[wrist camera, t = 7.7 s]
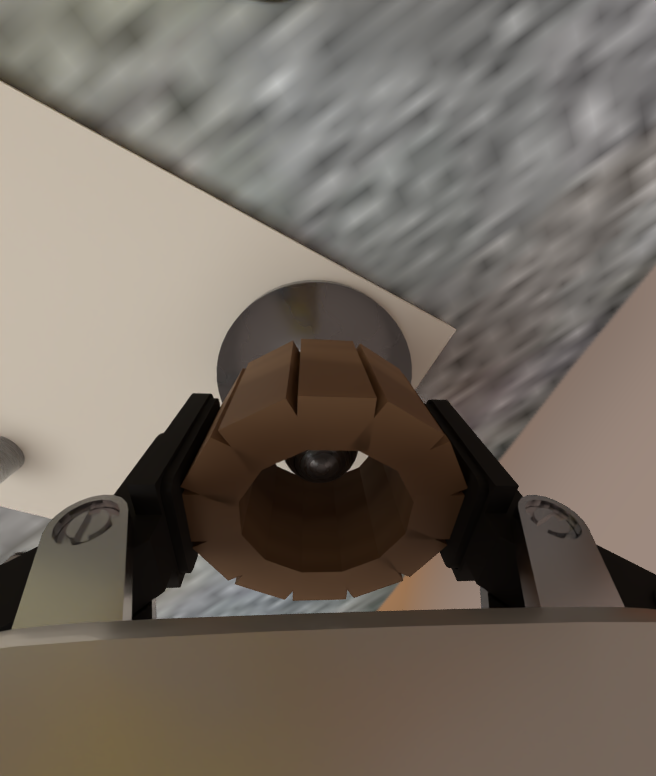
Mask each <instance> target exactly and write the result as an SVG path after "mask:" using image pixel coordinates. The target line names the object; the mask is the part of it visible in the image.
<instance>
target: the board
mask: <svg viewBox="0 0 656 776" xmlns="http://www.w3.org/2000/svg"><path fill="white" fill-rule="evenodd" d="M304 280H325V281H332V282H337V283H341V284H344V285H348V286H350V287H352V288H355V289H357V290H359V291H361V292H363V293H364V294H366V295H367V296H369V297H371V298H372V299H373V300H374V301H376V302H377V303H378V304H379V305H380V306H381V307H383V308H384V309H385V310H386V311H387V312H388V314H389V315H390V316H391V317H392V318H393V319H394V320H395V322H396V323H397V325H398V326H399V328H400V329H401V331H402V333H403V335H404V337H405V339H406V342H407V345H408V348H409V351H410V356H411V363H412V380H411V385H412V387H413V388H414V390H415V389H416V388H417V386H418V385H419V384H420V382H421V381H422V379H423V378H424V376H425V375H426V373H427V372H428V370H429V369H430V367H431V366H432V365H433V363H434V362H435V360H436V359H437V357H438V356H439V354H440V353H441V351H442V350H443V349H444V347H445V346H446V344H447V343H448V341H449V340H450V338H451V337H452V335H453V334H454V332H455V331H456V329H455V328H453V327H452V326H450V325H448V324H447V323H445V322H443V321H442V320H440V319H438V318H436V317H434V316H432V315H431V314H429V313H427V312H425V311H423V310H421V309H420V308H418V307H416V306H414V305H412V304H410V303H409V302H407V301H405V300H403V299H401V298H399V297H398V296H396V295H394V294H392V293H390V292H388V291H387V290H385V289H383V288H381V287H379V286H377V285H376V284H374V283H372V282H370V281H368V280H366V279H365V278H363V277H361V276H359V275H357V274H355V273H354V272H352V271H350V270H348V269H346V268H344V267H343V266H341V265H339V264H337V263H335V262H333V261H332V260H330V259H328V258H326V257H324V256H322V255H321V254H319V253H317V252H315V251H313V250H311V249H309V248H308V247H306V246H304V245H302V244H300V243H298V242H297V241H295V240H293V239H291V238H289V237H287V236H286V235H284V234H282V233H280V232H278V231H276V230H275V229H273V228H271V227H269V226H267V225H265V224H264V223H262V222H260V221H258V220H256V219H254V218H253V217H251V216H249V215H247V214H245V213H243V212H242V211H240V210H238V209H236V208H234V207H232V206H231V205H229V204H227V203H225V202H223V201H221V200H220V199H218V198H216V197H214V196H212V195H210V194H209V193H207V192H205V191H203V190H201V189H199V188H198V187H196V186H194V185H192V184H190V183H188V182H187V181H185V180H183V179H181V178H179V177H177V176H176V175H174V174H172V173H170V172H168V171H166V170H165V169H163V168H161V167H159V166H157V165H155V164H154V163H152V162H150V161H148V160H146V159H144V158H143V157H141V156H139V155H137V154H135V153H133V152H132V151H130V150H128V149H126V148H124V147H122V146H121V145H119V144H117V143H115V142H113V141H111V140H110V139H108V138H106V137H104V136H102V135H100V134H99V133H97V132H95V131H93V130H91V129H89V128H87V127H86V126H84V125H82V124H80V123H78V122H76V121H75V120H73V119H71V118H69V117H67V116H65V115H64V114H62V113H60V112H58V111H56V110H54V109H53V108H51V107H49V106H47V105H45V104H43V103H42V102H40V101H38V100H36V99H34V98H32V97H31V96H29V95H27V94H25V93H23V92H21V91H20V90H18V89H16V88H14V87H12V86H10V85H9V84H7V83H5V82H3V81H1V80H0V436H3V437H5V438H7V439H9V440H11V441H13V442H14V443H15V444H17V445H18V446H19V447H20V449H21V450H22V451H23V453H24V456H25V462H24V464H23V466H22V467H21V468H19V469H18V470H17V471H16V472H14V473H13V474H12V475H11V476H9V477H8V478H7V479H6V480H5V481H3V482H2V483H1V484H0V506H2V507H6V508H10V509H14V510H18V511H22V512H26V513H30V514H34V515H38V516H42V517H46V518H51V519H53V518H54V517H55V516H56V515H57V514H58V513H60V512H61V511H63V510H64V509H65V508H67V507H68V506H70V505H72V504H74V503H76V502H78V501H81V500H83V499H86V498H89V497H93V496H98V495H114V494H115V492H116V491H117V490H118V488H119V487H120V485H121V484H122V483H123V481H124V480H125V479H126V477H127V476H128V475H129V473H130V472H131V471H132V469H133V468H134V467H135V465H136V464H137V463H138V461H139V460H140V458H141V457H142V456H143V454H144V453H145V452H146V450H147V449H148V448H149V446H150V445H151V444H152V442H153V441H154V440H155V438H156V437H157V436H158V435H159V434H161V433H164V432H165V431H166V429H167V428H168V426H169V425H170V424H171V422H172V421H173V419H174V418H175V417H176V415H177V414H178V412H179V411H180V410H181V408H182V407H183V405H184V404H185V403H186V401H187V400H188V398H189V397H190V396H191V394H192V393H207V394H212V395H213V397H214V398H218V399H219V402H220V407H221V405H222V401H221V398H220V394H219V391H218V385H217V361H218V355H219V352H220V348H221V345H222V342H223V340H224V338H225V336H226V334H227V332H228V330H229V329H230V327H231V326H232V324H233V323H234V321H235V320H236V319H237V318H238V316H239V315H240V314H241V313H242V312H243V311H244V310H245V309H246V307H247V306H248V305H250V304H251V303H252V302H253V301H254V300H256V299H257V298H258V297H260V296H261V295H263V294H265V293H266V292H268V291H270V290H272V289H274V288H277V287H279V286H281V285H285V284H288V283H292V282H297V281H304ZM367 457H368V455H366V454H364V453H362V452H360V451H358V454H357V457H356V460H355V462H354V463H353V465H352V467H351V468H350V469H349V470H348V471H347V472H349V471H351V470H353V469H356V468H358V467H360V465H361V464H362V463H363V462H364V461H365V460H366V459H367ZM276 465H277V466H278V467H280V468H282V469H284V470H287V471H289V472H291V473H293V472H292V471H291V470H290V468H289V467H288V466H287V464H286V463H285V460H283V461H281V462H279V463H276ZM293 474H294V473H293ZM198 555H200V554H198Z"/></svg>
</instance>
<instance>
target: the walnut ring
mask: <svg viewBox="0 0 656 776" xmlns="http://www.w3.org/2000/svg"><path fill="white" fill-rule="evenodd" d="M306 450H333V451H360V452H362V453H364V454H366V455H368V457H367V459H366V460H365V461H364V462H363V463H362V464H361V465H360V467H358V468H356V469H353V470H351V471H349V472H346V473H345V474H344V475H343V476H341V477H340V478H338V479H336V480H333V481H331V482H326V483H313V482H309V481H306V480H303V479H302V478H300V477H298V476H297V475H295V474H293V473H291V472H289V471H287V470H284V469H282V468H280V467H278V466H277V465H276V463H279V462H281V461H283V460H286V459H288V458H290V457H292V456H295V455H297V454H299V453H302V452H304V451H306ZM180 487H181V488H184V489H185V490H184V492H183V494H182V497H183V502H184V507H185V512H186V517H187V522H188V527H189V532H190V537H191V542H194V545H193V549H194V550H195V551H196V552H197V553H198V554H200V555H201V556H202V557H203V558H204V559H205V560H206V561H207V562H208V563H209V564H211V565H212V566H213V567H214V568H215V569H216V570H217V571H218V572H219V573H221V574H222V575H223V576H224V577H225V578H226V579H227V580H231V579H233V578H236V582H235V584H236V585H239V586H243V587H246V588H249V589H252V590H255V591H259V592H262V593H265V594H268V595H272V596H275V597H278V598H281V599H284V600H285V599H286V598H287V597H288V596H289V595H290V593H291V592H292V591H293V601H298V600H337V599H346V595H347V590H348V591H349V592H350V594H351V595H352V596H353V597H354V598H355V597H358V596H360V595H363V594H366V593H369V592H372V591H375V590H378V589H381V588H383V587H386V586H389V585H392V584H395V583H398V582H401V581H403V578H402V575H401V574H404V575H407V576H409V577H410V576H412V575H413V574H414V573H415V572H416V571H417V570H419V569H420V568H421V567H422V566H423V565H425V564H426V563H427V562H428V561H429V560H430V559H432V557H434V556H435V555H436V554H437V553H439V552H440V551H441V550H442V549H443V548H445V547H446V546H447V543H446V541H445V539H450V536H451V533H452V530H453V528H454V525H455V522H456V519H457V516H458V513H459V511H460V508H461V505H462V502H463V499H464V497H465V495H464V493H463V492H462V490H465V489H467V485H466V482H465V480H464V477H463V474H462V472H461V469H460V466H459V464H458V461H457V459H456V456H455V453H454V451H453V448H452V445H451V443H450V441H449V439H448V438H447V436H446V435H445V434H444V432H443V431H442V429H441V428H440V426H439V425H438V423H437V422H436V420H435V419H434V418H433V416H432V415H431V413H430V412H429V410H428V409H427V407H426V406H425V404H424V403H423V402H422V400H421V399H420V397H419V396H418V394H417V393H416V391H415V390H414V388H413V387H412V385H411V384H410V383H409V381H408V380H407V378H406V377H405V375H404V374H402V372H401V371H400V369H399V368H397V367H396V366H394V365H393V364H391V363H390V362H388V361H387V360H385V359H384V358H382V357H380V356H379V355H377V354H376V353H374V352H373V351H371V350H370V349H368V348H367V347H365V346H363V345H362V344H359V345H358V347H357V348H355V345H354V343H353V341H342V340H320V339H301V349H300V351H299V350H298V348H297V346H296V344H295V343H294V341H291V342H289V343H287V344H285V345H283V346H281V347H279V348H277V349H275V350H273V351H271V352H269V353H267V354H265V355H263V356H261V357H259V358H257V359H255V360H253V361H251V362H249V363H248V365H247V367H246V369H245V368H243V369H242V371H241V372H240V374H239V376H238V377H237V379H236V381H235V383H234V384H233V386H232V388H231V389H230V391H229V393H228V394H227V396H226V398H225V400H224V401H223V403H222V405H221V407H220V409H219V411H218V413H217V415H216V417H215V419H214V421H213V422H212V424H211V426H210V428H209V430H208V432H207V434H206V436H205V438H204V440H203V442H202V444H201V446H200V448H199V450H198V452H197V454H196V456H195V458H194V460H193V462H192V464H191V466H190V468H189V470H188V472H187V474H186V476H185V478H184V480H183V482H182V484H181V486H180Z"/></svg>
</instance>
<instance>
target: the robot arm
mask: <svg viewBox="0 0 656 776" xmlns="http://www.w3.org/2000/svg"><path fill="white" fill-rule="evenodd" d="M425 406H426V407H427V409H428V410H429V412H430V413H431V415H432V416H433V418H434V419H435V420H436V422H437V423H438V425H439V426H440V428H441V429H442V431H443V432H444V434H445V435H446V436H447V438H448V439H449V441H450V443H451V445H452V448H453V451H454V453H455V456H456V459H457V461H458V464H459V466H460V469H461V472H462V474H463V477H464V480H465V482H466V485H467V489H465V490H462V492H463V493H464V495H465V497H464V499H463V502H462V505H461V508H460V511H459V513H458V516H457V519H456V522H455V525H454V528H453V530H452V533H451V536H450V539H445V541H446V543H447V546H446V547H445V548H443V549H442V550H441V551H440V553H441V556H442V558H443V561H444V563H445V565H446V566H447V567H448V568H452V570H453V573H454V575H455V577H456V580H457V581H476V584H478V585H479V586H480V595H481V609H447V610H410V611H376V612H343V613H312V614H281V615H253V616H226V617H199V618H172V619H157V615H156V597H157V596H159V595H160V594H162V593H163V592H164V591H165V589H166V588H177V587H180V586H181V584H182V581H183V578H184V575H185V573H191V572H192V570H193V568H194V565H195V562H196V560H197V557H198V553H197V552H196V551H195V550H194V549H193V545H194V542H191V537H190V532H189V527H188V522H187V517H186V512H185V507H184V502H183V497H182V494H183V492H184V490H185V489H184V488H181V487H180V486H181V484H182V482H183V480H184V478H185V476H186V474H187V472H188V470H189V468H190V466H191V464H192V462H193V460H194V458H195V456H196V454H197V452H198V450H199V448H200V446H201V444H202V442H203V440H204V438H205V436H206V434H207V432H208V430H209V428H210V426H211V424H212V422H213V421H214V419H215V417H216V415H217V413H218V411H219V409H220V402H219V399H218V398H214V397H213V395H212V394H207V393H192V394H191V396H190V397H189V398H188V400H187V401H186V403H185V404H184V405H183V407H182V408H181V410H180V411H179V412H178V414H177V415H176V417H175V418H174V419H173V421H172V422H171V424H170V425H169V426H168V428H167V429H166V431H165V432H164V433H161V434H159V435H158V436H157V437H156V438H155V440H154V441H153V442H152V444H151V445H150V446H149V448H148V449H147V450H146V452H145V453H144V454H143V456H142V457H141V458H140V460H139V461H138V463H137V464H136V465H135V467H134V468H133V469H132V471H131V472H130V473H129V475H128V476H127V477H126V479H125V480H124V481H123V483H122V484H121V485H120V487H119V488H118V490H117V491H116V492H115V494H114V495H98V496H93V497H89V498H86V499H83V500H81V501H78V502H76V503H74V504H72V505H70V506H68V507H67V508H65V509H64V510H63V511H61V512H60V513H58V514H57V515H56V516H55V517H54V518H53V519H52V520H51V521H50V522H49V523H48V524H47V526H46V528H45V530H44V531H43V533H42V536H41V539H40V542H39V545H38V547H36V548H34V549H32V550H30V551H28V552H26V553H24V554H22V555H20V556H18V557H16V558H14V559H12V560H10V561H8V562H6V563H4V564H2V565H0V776H656V575H655V574H653V573H651V572H649V571H647V570H645V569H643V568H642V567H639V566H638V565H636V564H634V563H632V562H630V561H628V560H626V559H624V558H622V557H620V556H618V555H616V554H614V553H611V552H610V551H608V550H606V549H604V548H602V547H600V546H598V545H596V544H595V541H594V539H593V537H592V535H591V533H590V530H589V529H588V527H587V525H586V524H585V522H584V521H583V520H582V519H581V518H580V517H579V516H578V515H577V514H576V513H575V512H574V511H572V510H571V509H569V508H568V507H567V506H565V505H563V504H561V503H559V502H557V501H555V500H553V499H550V498H547V497H543V496H538V495H527V496H525V497H523V496H522V495H521V494H520V493H519V491H518V490H517V489H518V487H519V486H518V484H517V483H516V482H515V481H514V480H513V478H512V477H511V476H510V475H509V474H508V472H507V471H506V470H505V469H504V468H503V467H502V465H501V464H500V463H499V462H498V461H497V459H496V458H495V457H494V456H493V455H492V453H491V452H490V451H489V450H488V449H487V447H486V446H485V445H484V444H483V443H482V441H481V440H480V439H479V438H478V437H477V435H476V434H475V433H474V432H473V431H472V429H471V428H470V427H469V426H468V425H467V423H466V422H465V421H464V420H463V419H462V418H461V416H460V415H459V414H458V413H457V412H456V410H455V409H454V408H453V407H452V406H451V404H450V403H449V402H448V401H447V400H428V401H427V403H426V404H425Z"/></svg>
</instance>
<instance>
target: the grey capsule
mask: <svg viewBox="0 0 656 776" xmlns="http://www.w3.org/2000/svg"><path fill="white" fill-rule="evenodd" d="M24 462H25V456H24V453H23V451H22V450H21V449H20V447H19V446H18V445H17V444H15V443H14V442H13V441H11V440H9V439H7V438H5V437H3V436H0V484H1V483H2V482H3V481H5V480H6V479H7V478H8V477H9V476H11V475H12V474H13V473H14V472H16V471H17V470H18V469H19V468H21V467H22V466H23V464H24Z"/></svg>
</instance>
